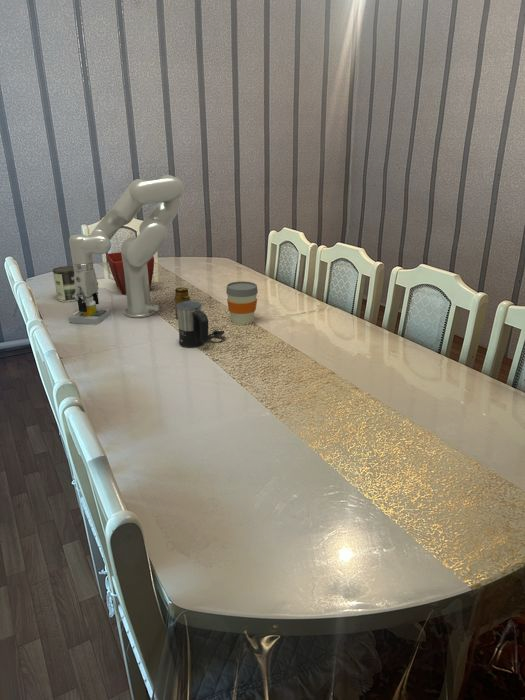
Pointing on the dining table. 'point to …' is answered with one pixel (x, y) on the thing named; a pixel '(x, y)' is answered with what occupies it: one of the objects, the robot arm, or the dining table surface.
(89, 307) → the supplement bottle
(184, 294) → the condiment
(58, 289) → the coffee can
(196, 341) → the milk frother
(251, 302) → the reusable coffee cup
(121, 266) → the plant pot
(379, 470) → the dining table surface
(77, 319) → the dock
